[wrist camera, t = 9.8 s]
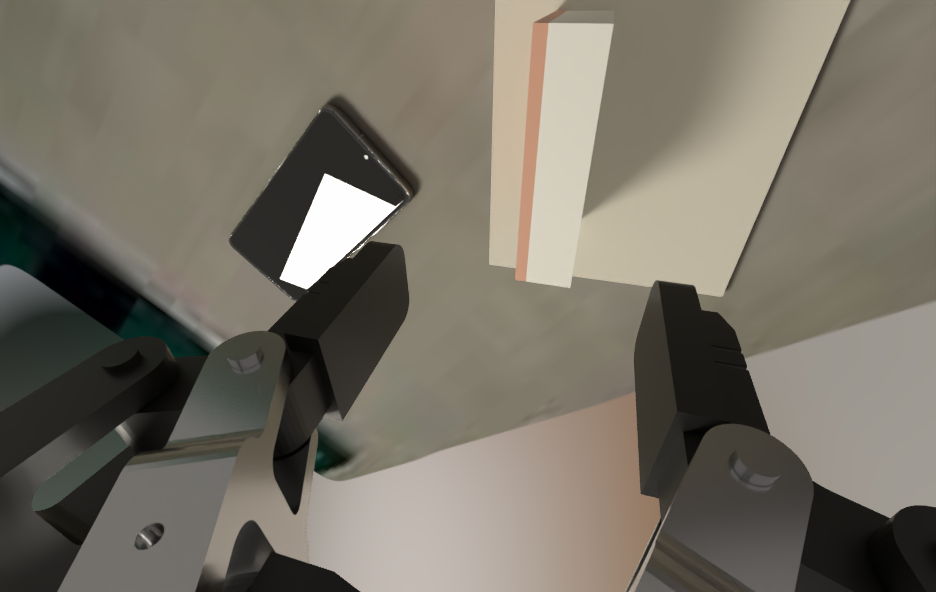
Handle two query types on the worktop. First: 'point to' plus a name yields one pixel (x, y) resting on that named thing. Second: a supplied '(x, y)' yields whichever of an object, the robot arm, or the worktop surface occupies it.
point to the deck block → (560, 139)
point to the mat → (667, 129)
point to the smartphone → (320, 204)
